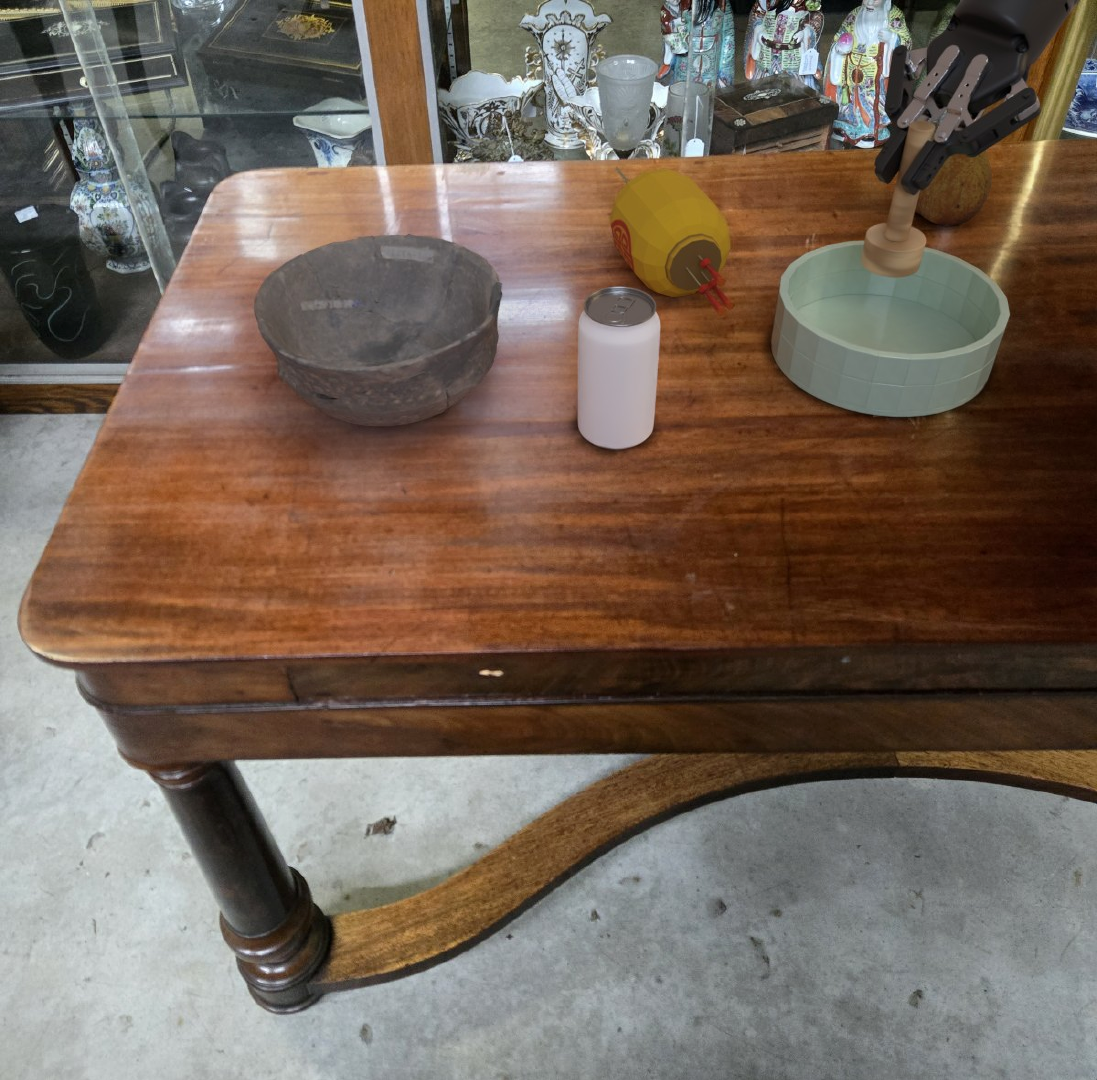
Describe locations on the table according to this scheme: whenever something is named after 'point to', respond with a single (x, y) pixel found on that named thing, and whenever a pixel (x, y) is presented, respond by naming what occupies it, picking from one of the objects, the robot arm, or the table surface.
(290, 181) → the table surface
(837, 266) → the mixing bowl
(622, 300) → the can
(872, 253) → the wooden stamp
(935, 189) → the fruit
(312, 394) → the bowl
